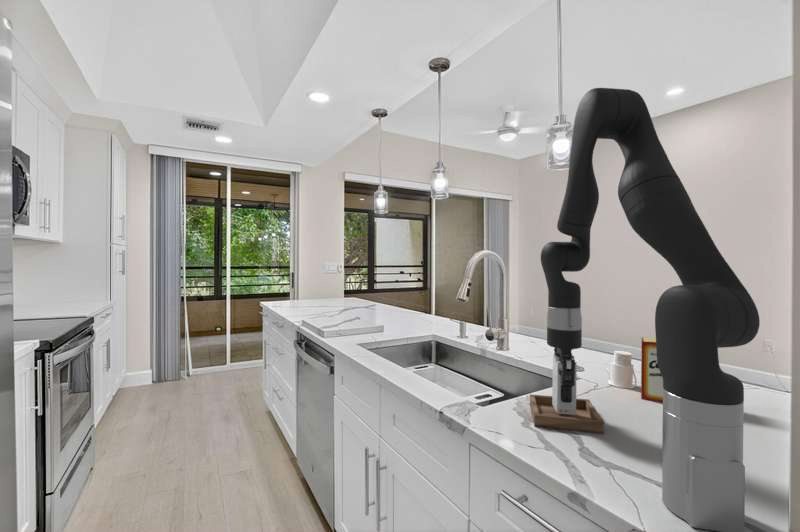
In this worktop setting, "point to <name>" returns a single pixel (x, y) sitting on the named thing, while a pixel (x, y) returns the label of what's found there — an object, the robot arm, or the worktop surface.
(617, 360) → the downlight
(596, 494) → the worktop surface
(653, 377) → the baking soda box
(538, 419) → the tray
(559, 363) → the skincare box
